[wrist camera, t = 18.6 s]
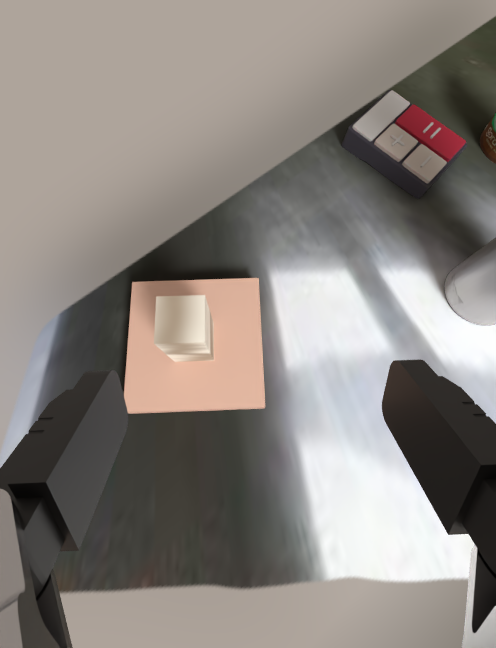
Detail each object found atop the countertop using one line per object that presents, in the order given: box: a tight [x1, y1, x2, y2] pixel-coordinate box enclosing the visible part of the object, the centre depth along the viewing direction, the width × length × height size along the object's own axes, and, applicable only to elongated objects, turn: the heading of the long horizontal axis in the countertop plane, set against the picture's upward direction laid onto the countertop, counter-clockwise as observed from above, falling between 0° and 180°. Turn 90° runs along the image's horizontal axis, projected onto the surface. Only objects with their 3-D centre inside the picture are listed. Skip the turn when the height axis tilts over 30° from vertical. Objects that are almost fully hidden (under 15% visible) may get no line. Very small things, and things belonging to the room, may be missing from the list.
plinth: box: [124, 278, 265, 414], centre depth 40 cm, size 16×16×3 cm
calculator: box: [341, 90, 467, 198], centre depth 49 cm, size 11×4×15 cm
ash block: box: [154, 295, 214, 362], centre depth 34 cm, size 5×5×9 cm
